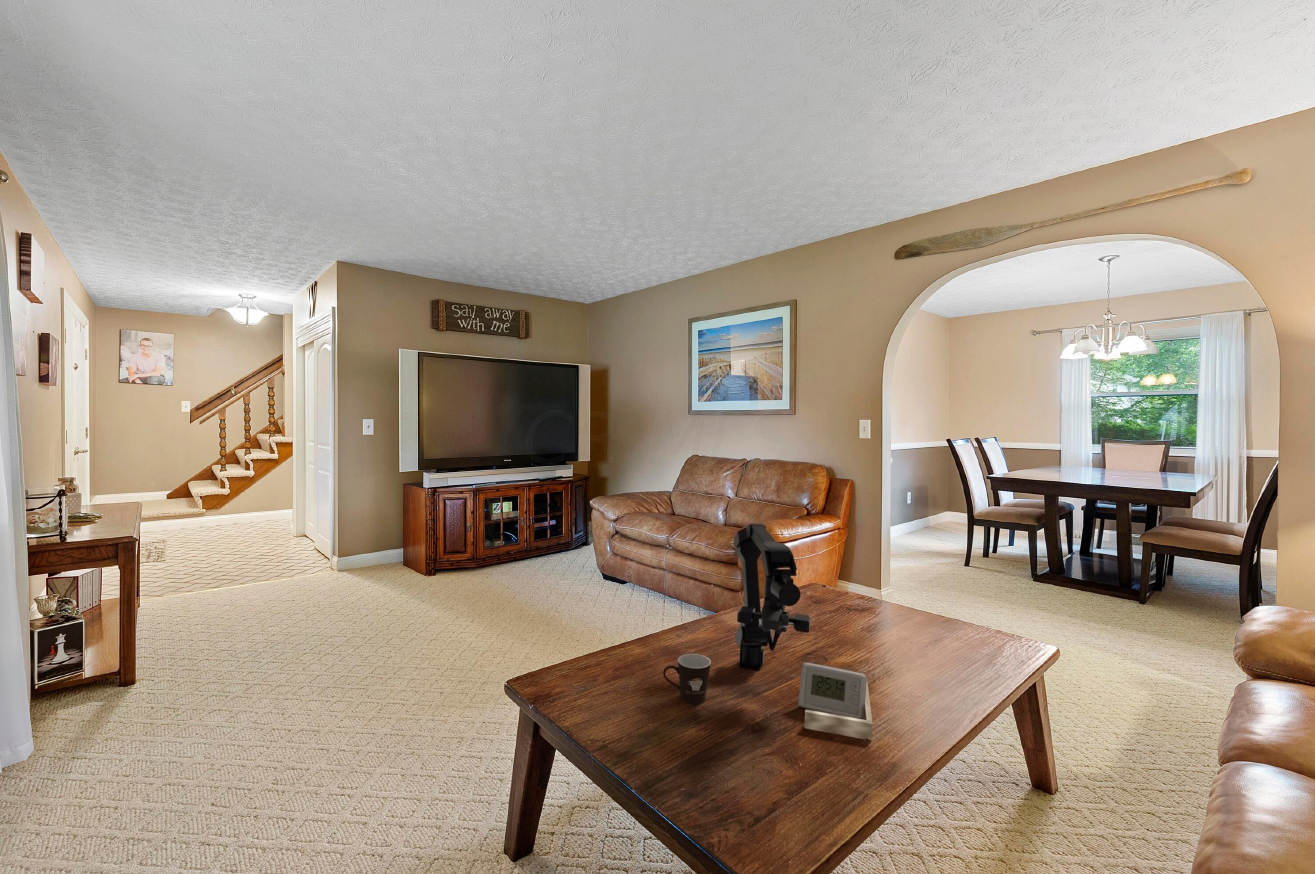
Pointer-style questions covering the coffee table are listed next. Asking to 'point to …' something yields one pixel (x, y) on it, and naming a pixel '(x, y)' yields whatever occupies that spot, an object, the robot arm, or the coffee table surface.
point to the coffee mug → (692, 677)
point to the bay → (842, 722)
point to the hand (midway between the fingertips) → (772, 650)
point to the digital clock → (832, 690)
